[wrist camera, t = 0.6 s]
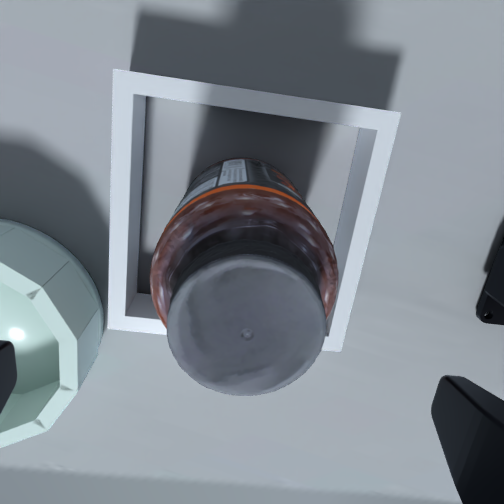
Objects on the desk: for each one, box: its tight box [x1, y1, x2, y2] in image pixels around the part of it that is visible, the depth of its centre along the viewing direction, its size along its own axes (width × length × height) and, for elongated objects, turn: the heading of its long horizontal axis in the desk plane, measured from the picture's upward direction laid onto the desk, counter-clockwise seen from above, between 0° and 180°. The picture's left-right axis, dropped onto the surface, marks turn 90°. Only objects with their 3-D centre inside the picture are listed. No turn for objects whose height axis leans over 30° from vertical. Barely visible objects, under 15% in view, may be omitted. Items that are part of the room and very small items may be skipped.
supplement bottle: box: [150, 158, 339, 396], centre depth 15 cm, size 6×6×11 cm
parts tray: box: [108, 69, 401, 352], centre depth 19 cm, size 12×12×2 cm
